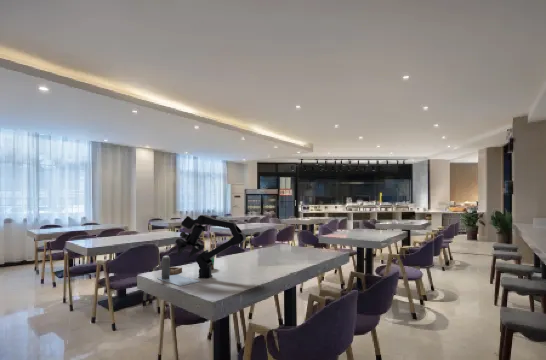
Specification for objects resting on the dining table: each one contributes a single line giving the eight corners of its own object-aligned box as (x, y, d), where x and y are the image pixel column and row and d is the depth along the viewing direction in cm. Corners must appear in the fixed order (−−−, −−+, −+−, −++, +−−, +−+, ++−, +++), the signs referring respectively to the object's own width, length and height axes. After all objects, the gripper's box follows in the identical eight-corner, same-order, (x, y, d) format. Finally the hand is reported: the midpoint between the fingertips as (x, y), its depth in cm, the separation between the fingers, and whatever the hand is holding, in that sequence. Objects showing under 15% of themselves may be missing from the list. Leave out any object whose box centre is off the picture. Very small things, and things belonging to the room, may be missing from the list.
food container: (211, 271, 201) (211, 255, 202) (202, 270, 202) (202, 255, 203) (218, 267, 213) (218, 252, 214) (209, 266, 214) (209, 252, 215)
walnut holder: (181, 271, 200) (182, 267, 200) (175, 274, 192) (175, 270, 192) (169, 270, 201) (170, 267, 202) (162, 273, 193) (163, 269, 193)
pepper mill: (168, 277, 184) (169, 255, 184) (170, 278, 180) (170, 256, 181) (161, 277, 182) (161, 256, 183) (162, 279, 178) (162, 257, 179)
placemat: (200, 281, 174) (200, 281, 174) (180, 286, 165) (180, 285, 165) (176, 275, 190) (177, 274, 190) (157, 278, 181) (157, 278, 181)
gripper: (199, 229, 200) (187, 251, 200) (176, 225, 185) (164, 248, 185) (209, 238, 194) (197, 260, 194) (186, 234, 179) (174, 258, 179)
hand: (183, 256), depth 188 cm, fingers open, 9 cm apart
